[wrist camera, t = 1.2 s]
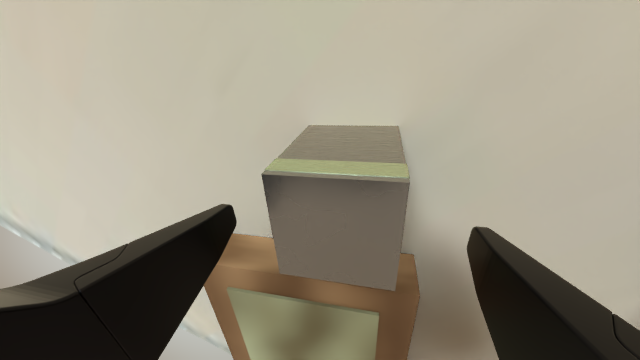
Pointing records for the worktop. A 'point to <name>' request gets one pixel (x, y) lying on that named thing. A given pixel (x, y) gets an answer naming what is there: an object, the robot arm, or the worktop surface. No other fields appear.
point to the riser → (307, 309)
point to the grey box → (340, 204)
